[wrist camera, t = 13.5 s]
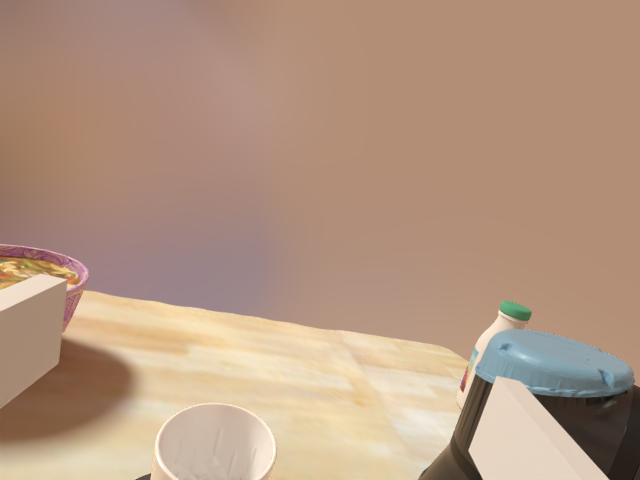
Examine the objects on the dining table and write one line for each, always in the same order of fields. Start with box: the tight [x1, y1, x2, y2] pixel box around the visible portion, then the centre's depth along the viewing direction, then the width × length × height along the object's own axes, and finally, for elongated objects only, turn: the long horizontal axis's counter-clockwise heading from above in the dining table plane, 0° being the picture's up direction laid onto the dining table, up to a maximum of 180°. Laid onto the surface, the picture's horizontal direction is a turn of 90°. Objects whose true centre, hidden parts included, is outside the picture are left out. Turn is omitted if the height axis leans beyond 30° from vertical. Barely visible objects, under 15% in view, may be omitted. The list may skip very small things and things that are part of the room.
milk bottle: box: [456, 301, 531, 410], centre depth 63 cm, size 8×8×20 cm
